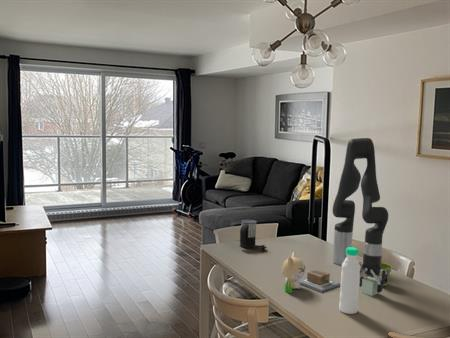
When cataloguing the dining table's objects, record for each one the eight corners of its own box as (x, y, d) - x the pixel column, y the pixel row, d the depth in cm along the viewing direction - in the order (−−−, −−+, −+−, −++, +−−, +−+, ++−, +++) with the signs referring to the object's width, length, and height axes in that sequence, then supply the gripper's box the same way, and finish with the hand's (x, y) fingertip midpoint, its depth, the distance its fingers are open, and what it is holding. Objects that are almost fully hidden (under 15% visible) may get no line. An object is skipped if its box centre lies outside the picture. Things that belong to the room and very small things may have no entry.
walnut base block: (316, 277, 207) (317, 269, 207) (329, 282, 202) (329, 273, 202) (307, 281, 203) (307, 272, 202) (319, 285, 197) (320, 276, 197)
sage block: (367, 290, 198) (368, 276, 197) (378, 293, 194) (379, 280, 193) (361, 292, 194) (362, 279, 194) (371, 296, 191) (372, 282, 190)
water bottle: (336, 307, 178) (340, 245, 175) (353, 307, 178) (357, 245, 176) (342, 314, 171) (346, 250, 168) (360, 314, 172) (364, 251, 169)
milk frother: (240, 243, 266) (241, 218, 264) (267, 245, 263) (268, 220, 262) (238, 250, 252) (239, 224, 250) (266, 252, 249) (267, 226, 248)
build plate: (315, 276, 212) (315, 273, 212) (340, 285, 202) (340, 282, 202) (295, 282, 203) (296, 279, 203) (321, 292, 193) (321, 289, 193)
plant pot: (390, 282, 209) (392, 264, 208) (391, 289, 200) (392, 270, 199) (369, 279, 212) (371, 261, 211) (369, 285, 203) (370, 267, 202)
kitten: (300, 295, 188) (302, 261, 187) (277, 291, 192) (278, 257, 190) (306, 284, 202) (308, 251, 201) (284, 280, 206) (286, 248, 204)
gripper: (392, 255, 189) (389, 292, 191) (362, 247, 200) (360, 282, 202) (383, 258, 185) (380, 296, 186) (353, 250, 195) (350, 286, 197)
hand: (369, 289), depth 194 cm, fingers open, 8 cm apart
